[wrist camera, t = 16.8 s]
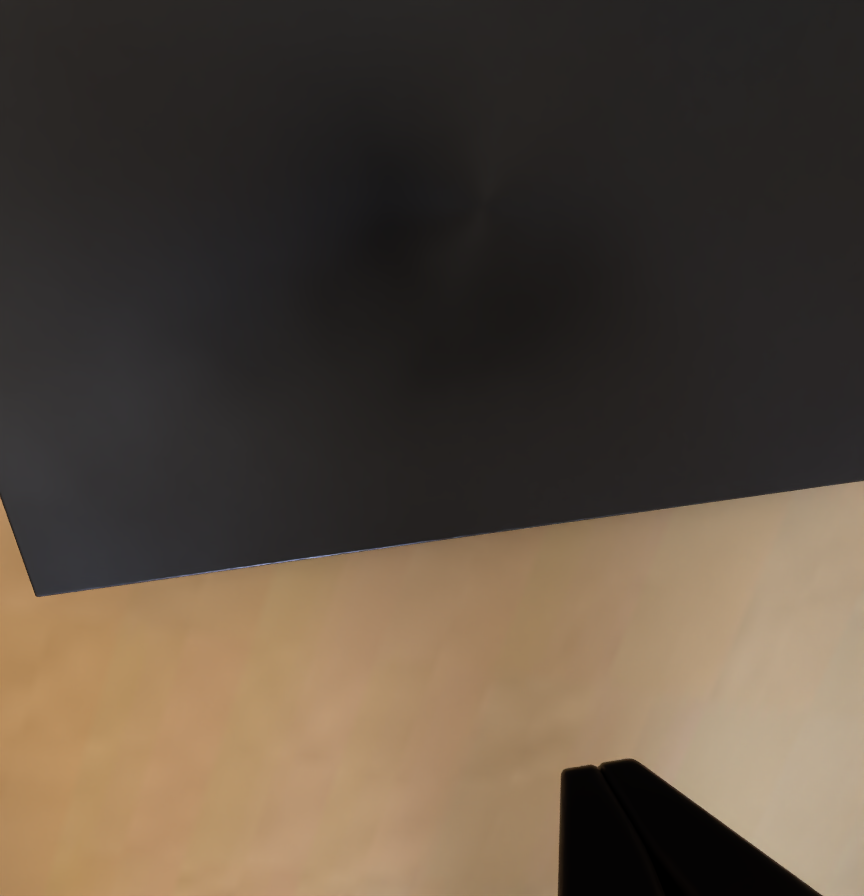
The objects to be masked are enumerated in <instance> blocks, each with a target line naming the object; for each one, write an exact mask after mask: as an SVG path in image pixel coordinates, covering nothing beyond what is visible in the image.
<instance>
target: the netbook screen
mask: <svg viewBox="0 0 864 896" xmlns="http://www.w3.org/2000/svg"><path fill="white" fill-rule="evenodd" d="M858 481H864V0H0V497H1V500H2V503H3V505H4V508H5V511H6V514H7V517H8V519H9V522H10V525H11V528H12V531H13V534H14V536H15V539H16V542H17V545H18V548H19V550H20V553H21V556H22V559H23V562H24V565H25V567H26V570H27V573H28V576H29V579H30V581H31V584H32V587H33V590H34V593H35V595H36V596H37V597H41V596H48V595H56V594H63V593H70V592H77V591H84V590H91V589H98V588H105V587H112V586H119V585H127V584H134V583H141V582H148V581H155V580H162V579H169V578H176V577H183V576H190V575H198V574H205V573H212V572H219V571H226V570H233V569H240V568H247V567H254V566H261V565H269V564H276V563H283V562H290V561H297V560H304V559H311V558H318V557H325V556H332V555H340V554H347V553H354V552H361V551H368V550H375V549H382V548H389V547H396V546H403V545H411V544H418V543H425V542H432V541H439V540H446V539H453V538H460V537H467V536H474V535H482V534H489V533H496V532H503V531H510V530H517V529H524V528H531V527H538V526H545V525H552V524H560V523H567V522H574V521H581V520H588V519H595V518H602V517H609V516H616V515H623V514H631V513H638V512H645V511H652V510H659V509H666V508H673V507H680V506H687V505H694V504H702V503H709V502H716V501H723V500H730V499H737V498H744V497H751V496H758V495H765V494H773V493H780V492H787V491H794V490H801V489H808V488H815V487H822V486H829V485H836V484H844V483H851V482H858Z"/></svg>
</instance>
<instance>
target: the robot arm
mask: <svg viewBox="0 0 864 896" xmlns="http://www.w3.org/2000/svg"><path fill="white" fill-rule="evenodd" d="M558 896H822V895H821V894H819V893H818V892H817V891H815V890H814V889H812V888H811V887H810V886H808V885H807V884H806V883H804V882H803V881H802V880H800V879H799V878H797V877H796V876H795V875H793V874H792V873H791V872H789V871H788V870H786V869H785V868H784V867H782V866H781V865H780V864H778V863H777V862H775V861H774V860H773V859H771V858H770V857H769V856H767V855H766V854H764V853H763V852H762V851H760V850H759V849H758V848H756V847H755V846H753V845H752V844H751V843H749V842H748V841H747V840H745V839H744V838H742V837H741V836H740V835H738V834H737V833H736V832H734V831H733V830H732V829H730V828H729V827H727V826H726V825H725V824H723V823H722V822H721V821H719V820H718V819H716V818H715V817H714V816H712V815H711V814H710V813H708V812H707V811H705V810H704V809H703V808H701V807H700V806H699V805H697V804H696V803H694V802H693V801H692V800H690V799H689V798H688V797H686V796H685V795H683V794H682V793H681V792H679V791H678V790H677V789H675V788H674V787H672V786H671V785H670V784H668V783H667V782H666V781H664V780H663V779H662V778H660V777H659V776H657V775H656V774H655V773H653V772H652V771H651V770H649V769H648V768H646V767H645V766H644V765H642V764H641V763H640V762H638V761H636V760H634V759H622V760H616V761H610V762H604V763H602V764H601V765H600V766H599V767H596V766H594V765H586V766H580V767H573V768H567V769H564V770H563V771H562V773H561V793H560V834H559V875H558Z"/></svg>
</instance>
